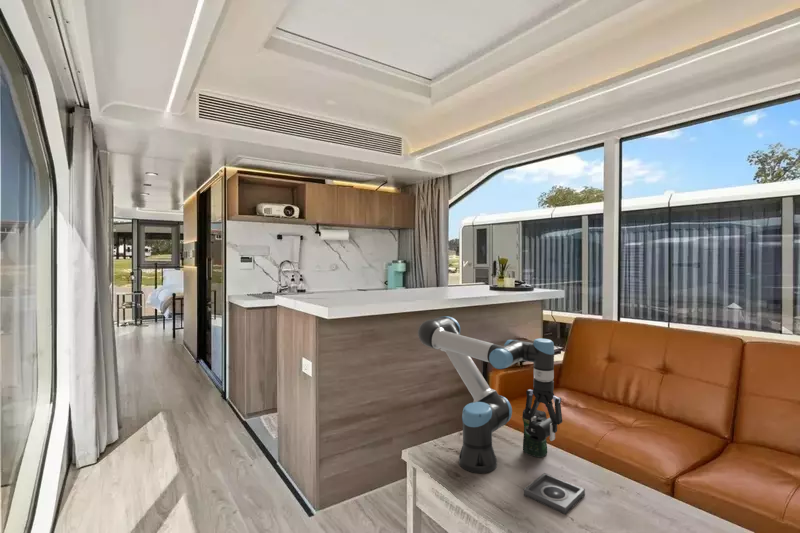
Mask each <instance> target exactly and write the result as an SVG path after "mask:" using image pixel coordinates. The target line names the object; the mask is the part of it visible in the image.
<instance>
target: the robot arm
mask: <svg viewBox="0 0 800 533" xmlns="http://www.w3.org/2000/svg"><path fill="white" fill-rule="evenodd" d="M417 336H418V339H419V341H420V342H421V344H422V345H424V346H426V347H428V348H431V349H434V350H440V351H442V352H445V354H446V355H447V357H448V359H449V360H450V362H451V364H452V366H453V368H455V370H456V372H457V373H458V375H459V376H460V378H461V380H462V382H463V383H464V385H465V388H467V390H468V392H469V393H470V394H471V395H470V396H472V399H473V402H470V403H467V404H466V405H465V406H463V410H462V415H461V420H462V446H461V449H460V452H459V455H458V465H459V466H460V468H461V469H463V470H465V471H467V472H469V473H470V472H471V473H474V474H476V473H477V474H487V473H490V472H493V471H494V470H496V468H497V466H498V463H497V462H498V461H497V456H496V454H495V450H494V448H493V433H494V432H496V430H498V429H500V428H502V427H504V426H506V424H507V423H508V422H509V421H510V420H511V418H512V414H513V408H512V404H511V403H510V401H509V400H508V398H506V397H505V396H503V395H500V394H499V393H498V391H497V390H496V389H493V388H491V387H490V385H489V384H488V382H487V381H486V379H485V378H484V376H483V374H482V372H481V371H480V370H479V368H478V366H477V365H476V363H475V362H474V360H473V359H477V360H480V361H483V362H486V363H490V364H491V365H492V367H493V368H495V369H497V370H504V369H506V368H509V367H511V366H513V365H515V364H516V363H518V362H522V361H524V362H527V363H528V362H530V363H533V381H532V382H533V385H532V388H533V389H531V388H529V389H527V390H526V391H525V394H526V400H525V408H524V409H525V414H527V415H529V423H530V422H532V421H535V422H536V416H534V415H535V413H536V410H538V408H539V406H540V403H541V404H544V405H545V407H546V409H547V413H548V415H549V417H550V419H551V422H552V423H551V424H550V436H549V441H550V442H553V441H554V440H555V439H556V434H557V432H558V426H559V425H561V424H562V423H563V414H562V406H561V405H562V404H561V403H562V397H560V396H559V397H558V396H556V395H555V393H554V390H555V389H554V387H555V385H554V384H555V381H554V378H555V370H554V369H555V344H554V341H553V340H551V339H549V338H535V339H534V340H533V342H528V341H523V340H518V339H507V340H506V341H505V342H504V344H503V345H500V344H496V343H492V342H488V341H485V340H481V339H478V338H474V337H470V336H465V335H462V334H461V326H460V323H459V322H458V320H456V318H454V317H452V316H448V315H447V316H444V315H443V316H439V317H436V318H433V319H432V318H431V319H426V320H425V321H423V322H422V323H421V324H420V326H419V328H418V329H417ZM472 358H473V359H472ZM533 396H534V401H533ZM531 408H532V409H531ZM531 431H533V432H536V430H535V429H532V428H531Z"/></svg>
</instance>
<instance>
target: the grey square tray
mask: <svg viewBox="0 0 800 533" xmlns="http://www.w3.org/2000/svg"><path fill="white" fill-rule="evenodd" d="M585 491H586V489H585V488H583V487H582V486H578V485H576V484H574V483H572V482H569V481H567V480H564V479H561V478H559V477H556V476H554V475H550V474H548V473H546V472H544V473H543V474H541V475H540V476H539V477H538V478H536V479H534V481H532V482H531V483H530V484H529V485H526V487H525V488H524V489H523V496H525V497H527V498H529V499H530V500H533V501H535V502H536V503H537V502H538V503H540V504H541V505H544V506H546V507H548V508H550V509H553V510H554V511H557V512H559V513H562V514H563V515H566V514H567V513H569V511H570V510H571V509H573V507H574V506H575V505H576V504H577V503H578V502H579V501H580V500H581V499H583V498H584V496H585V495H586V492H585Z"/></svg>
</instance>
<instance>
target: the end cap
mask: <svg viewBox="0 0 800 533" xmlns="http://www.w3.org/2000/svg"><path fill="white" fill-rule="evenodd" d="M536 420H540V421H542V422H535V421H532V422H530V423H529V428H532V429H535V430H536V432H533V431H530V430H529V435H531V436H529V438H530V439H532V440H535V441H538V442H541V441H543V440H544V439H546V440H547V438H548V437H550V424H551V423H552V422H551V419H550V416H549V417H547V419H546V418H543V417H538V418H536Z"/></svg>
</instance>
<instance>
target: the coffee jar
mask: <svg viewBox="0 0 800 533" xmlns="http://www.w3.org/2000/svg"><path fill="white" fill-rule="evenodd" d="M531 409H532V407H531ZM534 416H536V418H538V417H543V418H546V419H548V417H547V413H546V411H543V410H538V409H537V410H536V413H535V415H534ZM521 419H522V423H523V440H522V441H523V442H522V451H523V453H525V454H527V455H529V456H532V457H536V458H543V457H546V456H547V454H548V443H547V438H546V439H544V440H543V441H541V442H538V441H535V440H532V439H530V438H529V436H531V435H529V430H530V431H531V428H529V415H527V414H525V408H524V409H523V411H522V417H521ZM536 422H542V421H540V420H536Z"/></svg>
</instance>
